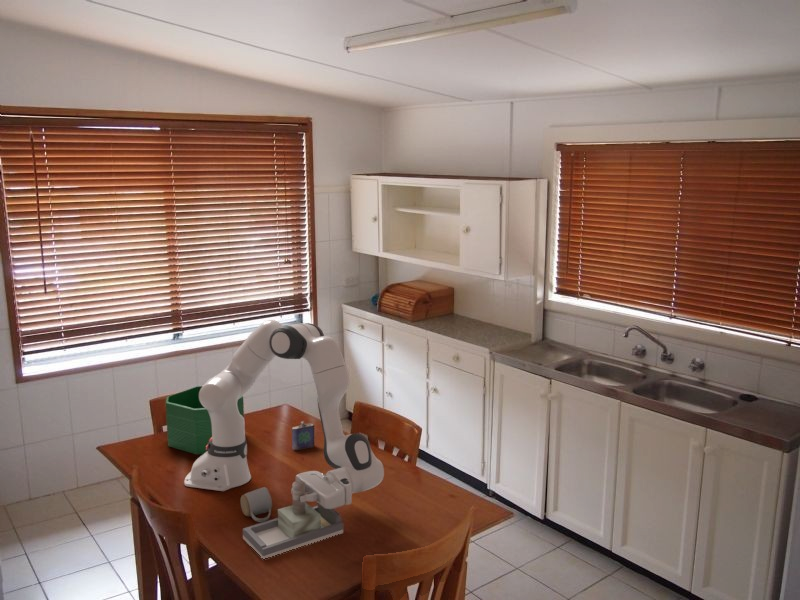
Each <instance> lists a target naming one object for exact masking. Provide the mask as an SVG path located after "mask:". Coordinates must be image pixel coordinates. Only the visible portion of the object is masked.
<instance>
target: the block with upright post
mask: <svg viewBox="0 0 800 600" xmlns="http://www.w3.org/2000/svg"><path fill="white" fill-rule="evenodd" d="M291 485H292V486H291V487H292V488H291V489H292V490H293V495H292V504H291V505H288V506H284V507H280V508H277V518H278V527H279V528H280V529H281V530H282V531H283V532H284V533H286V534H287V535H288V536H289V537H290V538H292V537H295V536H299V535H302V534H305V533H308V532H311V531H314V530H317V529H320V528H321V514H319V513H318V512H317V511H316V510H315V509H313V508H312V506H311V505H310V504H309V503H307V501H306V502H301V501H299V495H302V494H305V495H306V493H305V483H304V482H303V481H296V480H295V481H294V482H292V484H291Z"/></svg>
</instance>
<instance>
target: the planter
mask: <svg viewBox="0 0 800 600" xmlns="http://www.w3.org/2000/svg"><path fill="white" fill-rule="evenodd" d="M202 387H203V385H201V386H200V385H197V386H194V387H191V388H188V389H185V390H183V391H179V392H177V393H173V394H171V395H168V396H166V399H165V413H166V416H165V417H166V431H167V433H166V435H167V436H166V437H167V446H168V447H170V448H174V449H177V450H181V451H184V452H188V453H190V454H193V455H203V454H204V453H206V452H207V451H208V450H206V446H207V443H208V442H209V440H210V439H211V437H212V425H211V419H210V415H209V413H208V410H207V409H206V408H204V407H203V406H202V404H201V403H200V400H199V392H200V389H201V388H202ZM244 404H245V403H244V396H242V397H241V398H239V399H238V401H237V407H238V410H239V413H240V414H241V415H242V416H243V418H244V419H245V413H244V412H245V410H244V409H245V408H244Z"/></svg>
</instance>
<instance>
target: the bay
mask: <svg viewBox="0 0 800 600" xmlns="http://www.w3.org/2000/svg"><path fill="white" fill-rule="evenodd" d="M311 507H312V506H311ZM312 508H313V509H315V510H316V511H317V512H318V513H319V514H321V528H320V529H317V530H314V531H311V532H308V533H305V534H302V535H299V536H295V537H292V538H290V537H289V536H288V535H287V534H286V533H284V532H283V531H282V530H281V529H280V528H279V527H278V517H276V518H273V519H268V520H267V521H264V522H258V523H256V524H254V525H253V524H252V525H250V526H247V527H244V528H242V540H244V541H245V543H246V544H247V545H249V547H250V546H251V547H252V548H253V549H254V550H255V551H256V552H257V553H258V554H259V555H260V556H261V557H260V556H259V555H258V554H257V553H256V552H255V551H254V550H253V549H252V548H251V547H250V548H251V549H252V550H253V551H254V552H255V553H256V554H257V555H258V556H259V557H260V558H261V559H262V558H263V559H265V558H268V557H271V558H273V557H272V556H274V557H276V556H275V555H277V554H280V555H282V554H281V553H283V552H286V551H289V550H292V549H295V550H297V549H296V548H298V547H301V546H304V545H306V546H309V545H312V544H314V542H315V543H318V542H321V541H323V539H324V540H327V539H330V538H332V536H333V537H335V535H336V536H339V535H341V534H342V535H343V534H344V522H342V515H341V514H340V513H339V512H337V510H335V508H334V509H325V508H324V507H323V506H321V505H320V504H319V503H318V502H317V505H315V506H313V507H312ZM338 534H339V535H338ZM329 537H330V538H329ZM326 538H327V539H326ZM320 540H321V541H320ZM317 541H318V542H317ZM311 543H312V544H311ZM308 544H309V545H308ZM304 547H305V546H304ZM301 548H302V547H301ZM298 549H299V548H298ZM292 551H293V550H292ZM289 552H290V551H289ZM286 553H287V552H286ZM283 554H284V553H283ZM277 556H278V555H277ZM263 559H262V560H263ZM268 559H269V558H268ZM265 560H266V559H265Z"/></svg>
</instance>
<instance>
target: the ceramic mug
mask: <svg viewBox="0 0 800 600" xmlns="http://www.w3.org/2000/svg"><path fill="white" fill-rule="evenodd" d="M240 508H241V511H242V513H243V514H244V516H246V517H251V518H252V520H254V521H255V522H257V523H263V522H266V521H269V520H270V517H271V513H272V512H271V511H272V509H273V502H272V497H271V494H270V491H269V489H268V488H267V487H265V486H263V487H260V488H256V489H254V490H252V491H248V492H246V493H244V494H242V495H241V497H240ZM265 513H268V515H267V516H266V517H264V518H259V517H256V516H257V515H262V514H265Z"/></svg>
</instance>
